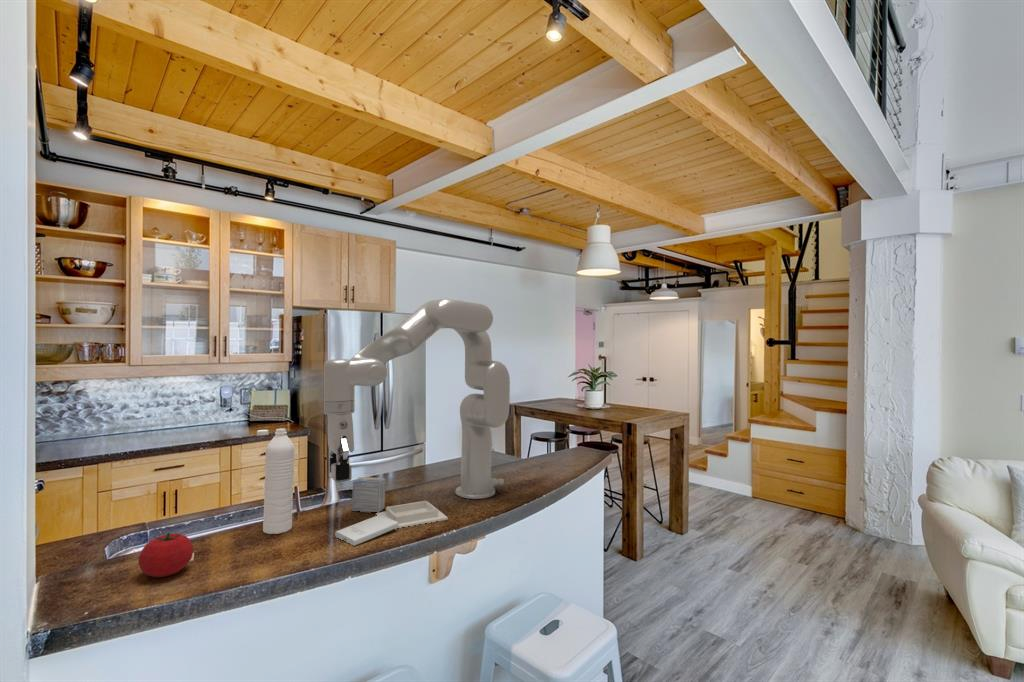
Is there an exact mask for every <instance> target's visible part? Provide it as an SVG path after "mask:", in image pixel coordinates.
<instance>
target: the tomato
mask: <svg viewBox="0 0 1024 682" xmlns="http://www.w3.org/2000/svg"><path fill="white" fill-rule="evenodd" d="M193 554H194V546H193V542H192V541H191V539H190V538H189V537H188V536H186V535H185V532H184V533H170V532H167V534H163V535H159V536H158V537H155V538H154V539H151V540H150V541H148V542H147V543H146V544H145V545H144V547H142V549H141V550H140V554H139V555H138V556H139V557H138V561H137V563H138V565H139V569H140V570H141V571H142V572H143V573H144V575H147V576H149V577H152V578H164V577H169V576H172V575H174V574H177V573H178V572H180V571H181V570H182V569H184V568H185V567H186V566H187V565H188V564H189V563H190V561H191V560H192V557H193Z"/></svg>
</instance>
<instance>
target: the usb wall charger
mask: <svg viewBox="0 0 1024 682" xmlns="http://www.w3.org/2000/svg"><path fill="white" fill-rule="evenodd" d="M336 464H337V463H333V464H332V465H331V473H330V478H331V479H332V480H333V481H334V482H335V483H336V484H342V483H347V482H351V480H352V478H353V477H352V470H353V469H352V466H351V465H350V464H349V479H346V480H339V481H337V480H336Z"/></svg>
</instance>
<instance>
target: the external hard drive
mask: <svg viewBox="0 0 1024 682" xmlns="http://www.w3.org/2000/svg"><path fill="white" fill-rule="evenodd" d="M396 528H398V522H397V521H394V520H392V519H389V518H387V517H384V516H382V515H377V516H376V515H375V516H373V517H369V518H367V519H365V520H362V521H360V522H357V523H354V524H352V525H349V526H346V527H344V528H341V529H339V530H336V531H335V533H334V536H335V538H336V539H338V538H339V540H340V539H341V541H342V540H344V541H346V542H347V543H346V542H345V543H346V544H348V543H350V544H351V545H350V544H349V545H350V546H352V545H353V547H354V546H358V545H360V544H362V543H364V542H367V541H369V540H372V539H374V538H376V537H379V536H382V535H383V534H386V533H388V532H391V531H393V529H394V530H397V529H396ZM344 541H343V542H344Z"/></svg>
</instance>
